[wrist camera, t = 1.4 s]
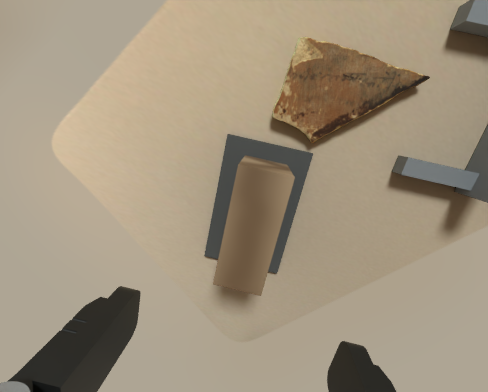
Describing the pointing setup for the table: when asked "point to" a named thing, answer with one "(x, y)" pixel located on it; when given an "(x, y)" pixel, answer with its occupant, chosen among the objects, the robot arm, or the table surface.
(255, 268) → the block
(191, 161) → the table surface
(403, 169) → the dock
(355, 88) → the shard
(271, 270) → the rest mat
